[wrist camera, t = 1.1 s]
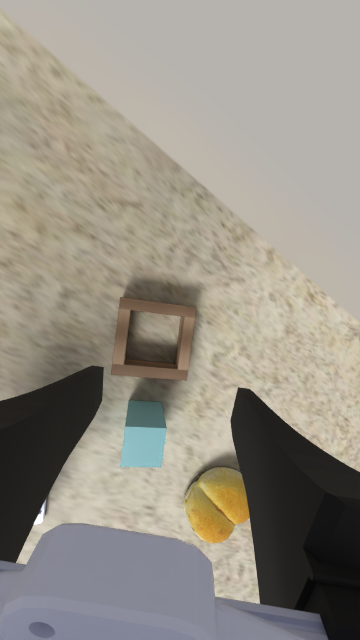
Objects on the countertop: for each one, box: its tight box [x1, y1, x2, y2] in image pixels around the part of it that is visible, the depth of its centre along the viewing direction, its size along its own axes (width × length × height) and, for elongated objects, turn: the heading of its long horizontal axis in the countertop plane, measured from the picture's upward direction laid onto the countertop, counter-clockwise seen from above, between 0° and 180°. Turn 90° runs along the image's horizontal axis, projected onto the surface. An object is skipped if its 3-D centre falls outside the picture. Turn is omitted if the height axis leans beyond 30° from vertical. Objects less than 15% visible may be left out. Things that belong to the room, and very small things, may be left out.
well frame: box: [111, 297, 197, 381], centre depth 26 cm, size 8×8×2 cm
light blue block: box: [120, 400, 167, 467], centre depth 25 cm, size 4×4×6 cm
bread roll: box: [183, 467, 250, 543], centre depth 28 cm, size 8×9×4 cm
